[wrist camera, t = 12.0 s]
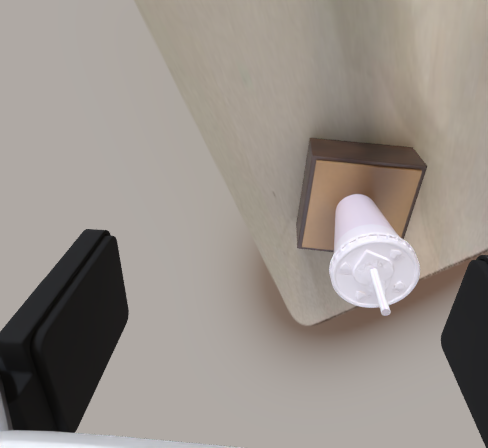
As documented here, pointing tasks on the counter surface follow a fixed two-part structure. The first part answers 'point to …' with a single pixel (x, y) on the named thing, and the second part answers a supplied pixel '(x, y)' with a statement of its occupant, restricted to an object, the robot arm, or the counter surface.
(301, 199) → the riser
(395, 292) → the smoothie
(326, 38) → the counter surface
